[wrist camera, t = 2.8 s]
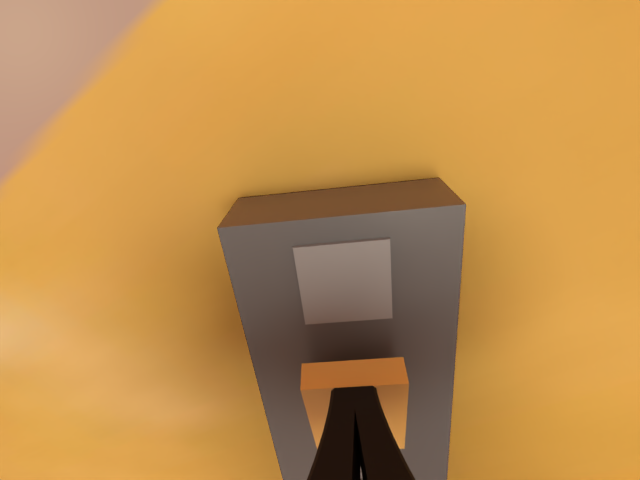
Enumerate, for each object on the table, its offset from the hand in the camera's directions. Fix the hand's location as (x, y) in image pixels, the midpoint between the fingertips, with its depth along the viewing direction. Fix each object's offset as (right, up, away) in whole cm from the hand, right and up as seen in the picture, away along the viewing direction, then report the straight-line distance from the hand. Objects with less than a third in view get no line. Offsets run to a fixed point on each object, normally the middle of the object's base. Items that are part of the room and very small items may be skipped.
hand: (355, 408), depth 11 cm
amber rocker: (0, -1, +3) cm, 3 cm away
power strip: (+1, -1, +7) cm, 7 cm away
